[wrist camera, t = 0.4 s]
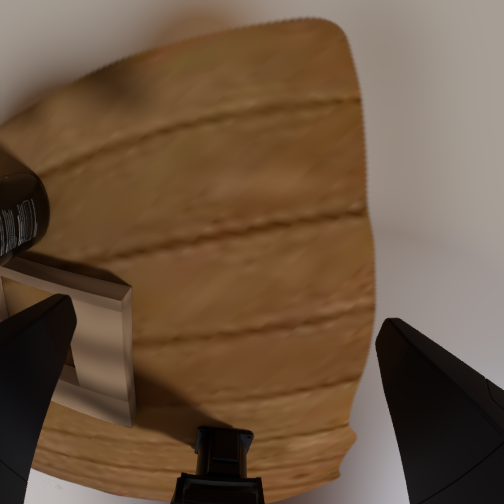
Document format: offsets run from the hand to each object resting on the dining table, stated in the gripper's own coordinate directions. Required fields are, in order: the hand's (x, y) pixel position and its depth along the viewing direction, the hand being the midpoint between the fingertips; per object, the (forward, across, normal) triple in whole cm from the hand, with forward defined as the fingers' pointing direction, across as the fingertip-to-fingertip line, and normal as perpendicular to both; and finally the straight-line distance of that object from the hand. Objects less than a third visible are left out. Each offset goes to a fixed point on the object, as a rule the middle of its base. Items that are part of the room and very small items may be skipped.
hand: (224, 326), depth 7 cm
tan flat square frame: (+12, +18, +16) cm, 27 cm away
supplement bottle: (+14, +19, +2) cm, 24 cm away
